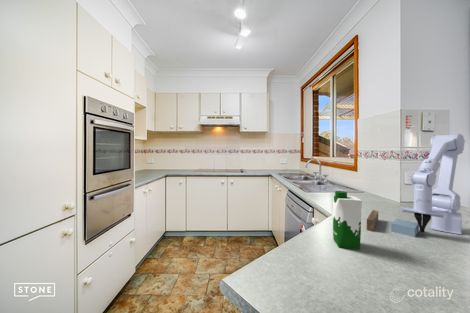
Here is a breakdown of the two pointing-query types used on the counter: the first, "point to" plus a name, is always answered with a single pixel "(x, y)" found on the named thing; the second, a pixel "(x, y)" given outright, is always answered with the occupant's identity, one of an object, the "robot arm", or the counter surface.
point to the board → (372, 220)
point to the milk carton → (346, 220)
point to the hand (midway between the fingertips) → (421, 231)
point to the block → (405, 227)
